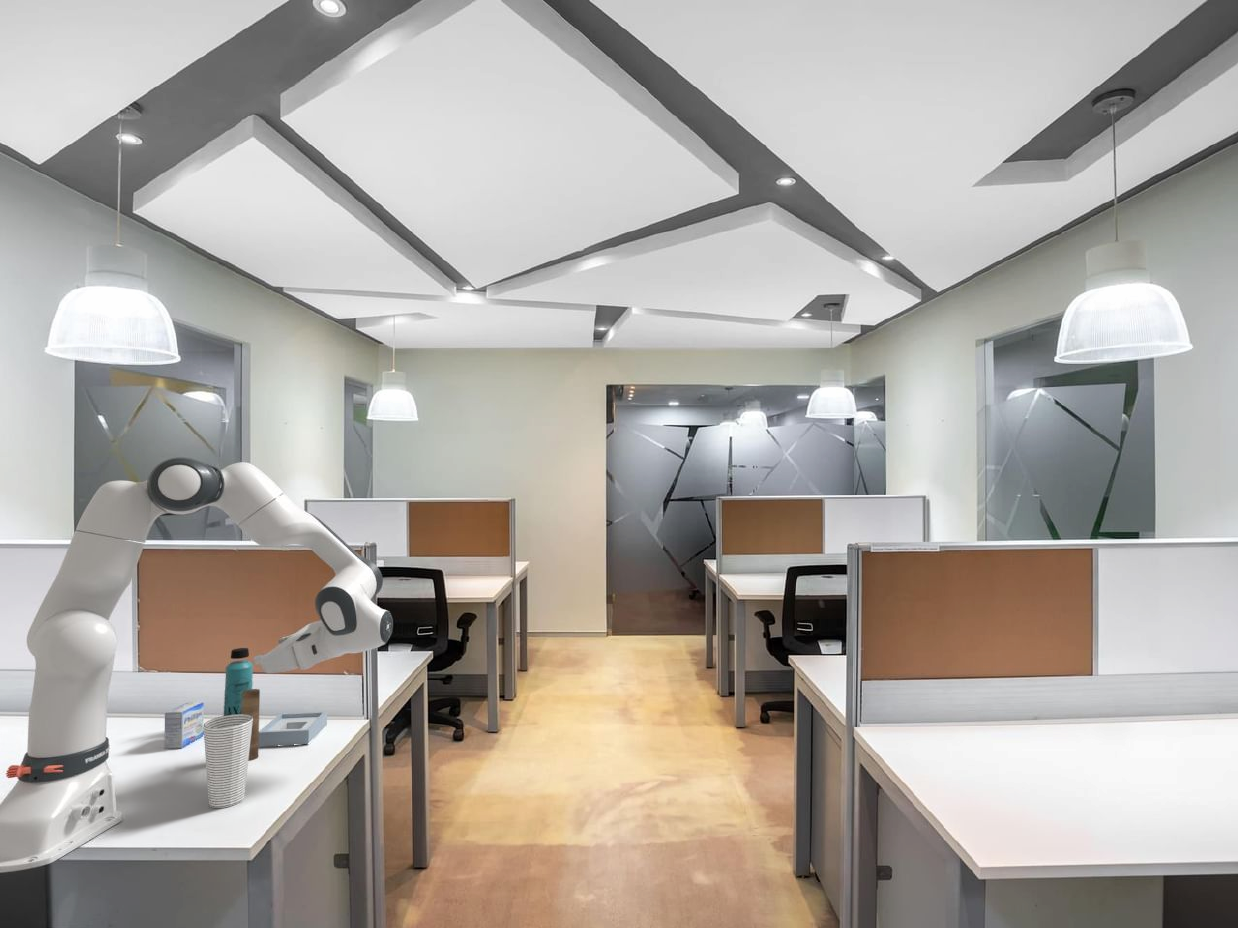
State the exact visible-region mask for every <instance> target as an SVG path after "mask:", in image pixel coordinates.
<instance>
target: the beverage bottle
mask: <svg viewBox="0 0 1238 928" xmlns="http://www.w3.org/2000/svg"><path fill="white" fill-rule="evenodd" d="M249 651H250V650H249V648H248V647H239V648H234V649H232V650H231V652H230V659H232V660H235V661H231V662H230V663H228V664H227V666H226V667H225V680H224V681H225V683H224V688H225V689H224V700H223V704H224V705H223V709H222V710H223V712H222V714H223V715H222V716H226V715H233V714H241V704H242V692H243V691H245V690H250V689H253V676H254V675H253V670H254V663H252V662H251V661H250V660H246V659H245V658H248V657H250V652H249ZM239 659H243V660H239Z"/></svg>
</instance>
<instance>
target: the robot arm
mask: <svg viewBox="0 0 1238 928" xmlns="http://www.w3.org/2000/svg"><path fill="white" fill-rule="evenodd" d="M205 507H215V508H218V509H220V510H221V511H223V513H225V514H227V516H229V518H230V519H231V520H232V521H233V522H234V523H235V524H236V525H237V526H238V528H239V529H240V530H241V531H242V532H243V534H245V535H246V536H247V537H248V538H249V539H250V540H251V541H252V542H255V544H257V545H259V546H262V547H266V548H267V547H268V548H278V547H280V548H281V547H284V546H285V547H286V546H291V545H292V546H293V545H299V546H303V547H306V548H308V549H309V550H311V551H313V553H315V555H317V556H318V557H319V558H320V559H321V560H322V561H323V562H325V563H326V564H327V565H328V566H329V567H330V568H331V569H332V570H333V571H334V574H335V575H334V577H333V578H332V579H331V580H329V581H328V582H327V583H325V585H324V586H323V587H322V588H321V589H320V591H319V592H318V593H317V595H316V597H315V601H314V606H315V607H314V608H315V610H316V613H317V615H318V617H319V619H320V620H316V621H313V622H311V623H308V624H307V625H305V626H304V627H302V628H301V629H299V630H298V631H297V632H295V633H292V634H290V635H288V636H284V637H281V638H280V639H279V640H278V641H277V642H278V645H277V646H276V647H274V648H272V649H271V650H270V651H268V652H267V653H266V654H265V653H261V654H257V655H256V656H254V657H252V661H253V665H261V667H262V670H263V672H264V673H265V674H274V673H275V674H276V673H283V672H288V671H292V670H293V671H294V670H297V669H298V668H299V669H300V670H301V671H304V670H308V669H311V668H312V667H314V666H316V665H318V664H319V663H322V662H324V661H328V660H330V659H333V658H338V657H342V656H344V655H345V654H359V653H365V652H367V651H371V650H374V649H377V648H380V647H381V646H384V645H386V644H387V642H388V641H389V639H390V637H391V636H392V634H393V628H394V621H393V616H392V614H391V612H390V611H389V610H388V609H387V610H386V609H383V608H381V607H380V606H378V605H377V604H375V603H374V602H373V601H372V600H373V599H374V598H375V597H376V596H377V595H378V594H379V593H380V592H381V590H382V588H383V583H384V577H383V574H382V571H381V570H380V568H379V566H378V565H376V564H375V562H373V561H371V559H370V560H369V559H368V558H366V557H364V556H363V555H361V554H360V553H358V552H357V551H356V550H354V548H352V547H351V546H350V545H349V544H348V543H346V542H345V541H344V540H343V539H342V538H341V537H340V536H339V535H338V534H337V533H335V531H333V530H332V529H331V528H330V527H329V526H328V525H327V523H326V524H325V523H324V521H323V520H321V519H320V518H318V517H317V516H316V515H314V514H312V513H311V512H310V513H309V512H308V511H305V510H304V509H302V508H301V507H300V506H299V505H297V504H296V503H295V502H294V501H292V499H291V498H290V497H289V496H288V495H287V494H286V493H285V491H283V490H282V488H280V487H279V486H278V485H277V484H276V482H275V481H274V480H272V478H270V476H268V475H267V474H266V473H265V472H264V471H262V470H261V469H260V468H258V467H257V466H255V465H254V464H252V463H249V462H246V461H241V462H236V463H232V464H229V465H227V466H225V467H224V468H222V469H220V468H219V467H217V466H213V465H211V464H208V463H205V462H203V461H200V460H197V459H193V458H190V457H180V456H179V457H171V458H168V459H166V460H163V461H162V462H159V464H157V465H156V466H154V468H153V469H152V470H151V472H150V473H149V475H148V478H147V480H144V481H141V482H139V481H138V482H135V481H130V480H119V479H118V480H112V481H108V482H106V483H104V484H102V485H101V486H99V488H98V489H97V490H96V491H95V493H94V494H93V496H92V498H91V499H90V501H89V503H88V504H87V506H86V507H85V509H84V511H83V513H82V515H81V516H80V519H79V521H78V524H76V525H77V526H76V529H75V531H74V533H73V535H72V538H71V539H70V543H69V545H68V548H67V550H66V553H65V555H64V558H63V560H62V562H61V565H60V568H59V570H58V572H57V575H56V576H55V578H54V580H53V582H52V583H51V586H50V587H49V589H48V591H47V593H46V595H45V596H44V599H43V601H42V602H41V604H40V606H39V608H38V610H37V613H36V614H35V617H34V618H33V621H32V623H31V625H30V627H29V628H28V629H29V630H28V632H27V635H26V645H27V648H28V651H29V653H30V654H31V655H32V656H33V657H34V661H35V671H34V680H33V687H32V693H31V698H30V699H31V700H30V705H29V707H28V722H27V724H28V725H27V727H28V729H27V752H26V753H25V754H24V755H23V758H22V761H21V763H20V765H18V764H12V765H10V766H8V767H7V770H6V773H5V775H6V776H5V777H7V779H13V778H17V779H18V780H17V781H16V784H15V785H14V786H13V787H12V788H11V790H10V791H9V792H8V794H7V795H6V796H5V797H4V799H3V800H2V801H1V802H0V873H9V872H16V871H17V872H18V871H23V870H24V871H25V870H28V869H34V868H39V867H43V866H45V865H48V864H51V863H53V862H55V861H57V860H58V859H60V858H63V856H65V855H67V854H69V853H70V852H72V851H74V850H75V849H77V848H79V847H80V846H82V845H83V844H85V843H87V842H88V841H90V840H92V839H94V838H95V837H97V836H99V835H100V834H102V833H103V832H106V831H107V830H109V829H110V828H112V827H113V826H116V825H117V824H119V823H120V822H122V821H123V819H124V818H123V813H122V812H120V811H118V810H117V799H116V785H115V775H114V773H113V772H112V771H111V770H110V768H109V765H108V762H107V760H108V758H110V757H109V755H110V754H109V753H110V743H109V741H110V740H109V737H107V723H108V721H107V720H108V717H107V716H108V714H107V713H108V697H109V696H108V695H109V691H110V685H111V681H112V675H113V669H114V663H115V655H116V651H117V646H118V637H117V631H116V629H115V627H114V626H113V624H112V623H111V622H110V621H109V620H110V618H111V615H112V613H113V611H114V609H115V608H116V606H117V604H118V603H119V601H120V599H121V597H122V595H123V594H124V592H125V591H126V589H127V588H128V587H129V585H130V584H131V582H132V579H133V577H134V574H135V571H136V568H137V565H138V563H139V560H140V559H141V558H140V557H141V554H142V552H143V549H144V546H145V544H146V542H147V541H146V540H147V539H148V536H149V533H150V530H151V529H152V526H153V524H154V522H155V521H156V520H157V518H158V517H168V516H186V515H192V514H195V513H197V512H199V511H201V510H202V509H205Z"/></svg>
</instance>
